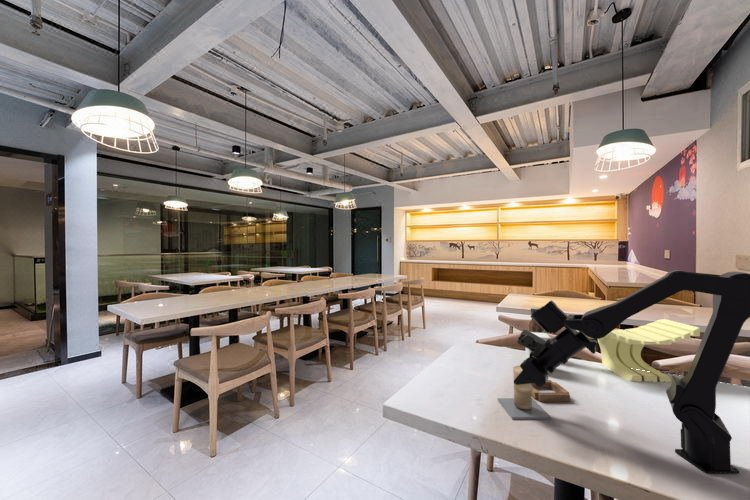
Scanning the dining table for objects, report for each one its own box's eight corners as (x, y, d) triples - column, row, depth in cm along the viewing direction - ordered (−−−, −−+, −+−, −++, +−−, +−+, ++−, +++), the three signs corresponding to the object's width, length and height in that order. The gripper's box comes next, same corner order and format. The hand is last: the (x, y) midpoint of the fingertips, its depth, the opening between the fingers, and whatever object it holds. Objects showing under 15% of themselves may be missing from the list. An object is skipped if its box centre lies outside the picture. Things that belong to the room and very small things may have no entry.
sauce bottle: (549, 360, 119) (548, 310, 119) (532, 359, 120) (531, 309, 121) (543, 354, 126) (542, 307, 126) (527, 354, 127) (526, 306, 127)
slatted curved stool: (659, 364, 113) (658, 317, 113) (701, 382, 97) (699, 327, 97) (575, 363, 116) (573, 316, 116) (602, 380, 100) (601, 327, 100)
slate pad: (551, 419, 78) (551, 416, 78) (512, 419, 78) (512, 416, 78) (532, 400, 88) (532, 398, 88) (497, 400, 88) (497, 398, 88)
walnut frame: (572, 401, 86) (572, 394, 86) (537, 401, 86) (537, 394, 87) (552, 386, 96) (552, 380, 96) (521, 386, 96) (521, 380, 97)
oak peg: (535, 407, 81) (534, 370, 82) (523, 410, 80) (522, 373, 80) (522, 400, 86) (521, 364, 86) (510, 403, 84) (509, 367, 84)
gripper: (543, 316, 88) (505, 347, 94) (528, 329, 73) (484, 365, 80) (576, 348, 82) (533, 378, 89) (567, 369, 68) (516, 403, 75)
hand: (517, 380), depth 84 cm, fingers closed on oak peg, 4 cm apart
